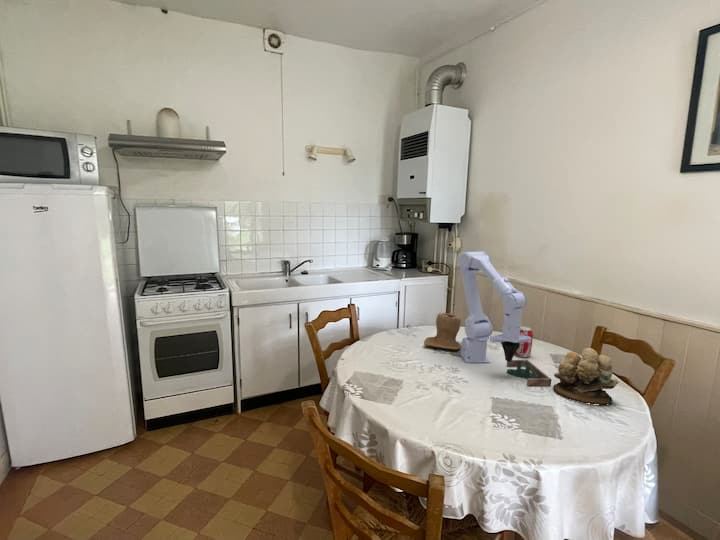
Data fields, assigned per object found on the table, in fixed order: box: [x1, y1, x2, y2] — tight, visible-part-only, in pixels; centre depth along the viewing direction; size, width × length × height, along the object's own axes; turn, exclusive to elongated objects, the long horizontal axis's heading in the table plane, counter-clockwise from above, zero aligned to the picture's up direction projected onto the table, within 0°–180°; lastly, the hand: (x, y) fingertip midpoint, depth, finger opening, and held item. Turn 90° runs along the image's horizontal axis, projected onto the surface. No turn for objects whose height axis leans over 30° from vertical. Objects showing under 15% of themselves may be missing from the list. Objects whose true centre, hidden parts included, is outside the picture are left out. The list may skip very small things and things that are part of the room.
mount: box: [506, 361, 539, 380], centre depth 135 cm, size 11×4×5 cm, turn 66°
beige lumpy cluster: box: [552, 347, 620, 406], centre depth 120 cm, size 18×12×17 cm, turn 65°
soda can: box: [514, 325, 534, 359], centre depth 154 cm, size 7×7×12 cm
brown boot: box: [423, 312, 462, 351], centre depth 162 cm, size 15×12×15 cm
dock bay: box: [506, 359, 552, 387], centre depth 135 cm, size 8×17×2 cm, turn 3°
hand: (508, 360), depth 134 cm, fingers closed
